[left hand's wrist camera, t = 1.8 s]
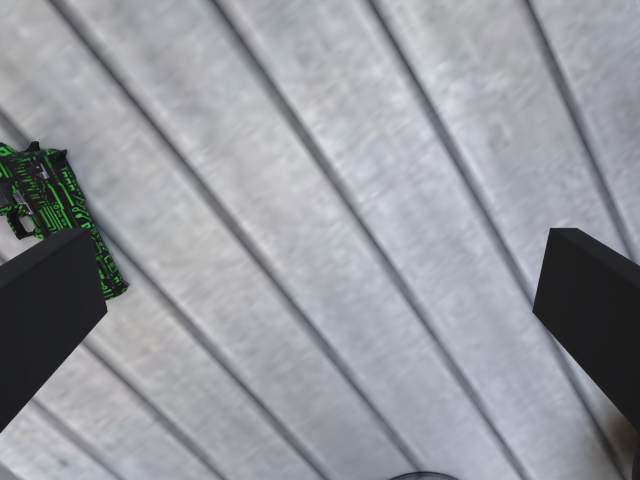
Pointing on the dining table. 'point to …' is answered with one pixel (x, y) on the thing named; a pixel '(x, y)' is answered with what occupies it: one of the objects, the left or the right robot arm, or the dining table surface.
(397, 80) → the dining table surface
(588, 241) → the left robot arm
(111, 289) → the handgun
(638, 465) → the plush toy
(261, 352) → the dining table surface
